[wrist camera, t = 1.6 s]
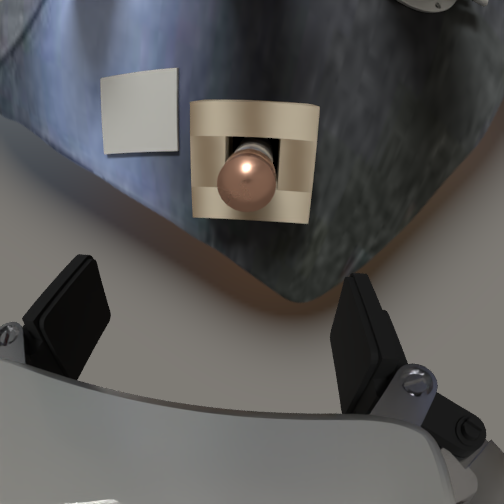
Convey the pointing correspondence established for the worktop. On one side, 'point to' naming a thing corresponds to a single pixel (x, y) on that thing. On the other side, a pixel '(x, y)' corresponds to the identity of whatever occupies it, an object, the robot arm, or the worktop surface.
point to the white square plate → (140, 111)
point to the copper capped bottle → (248, 176)
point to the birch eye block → (254, 125)
